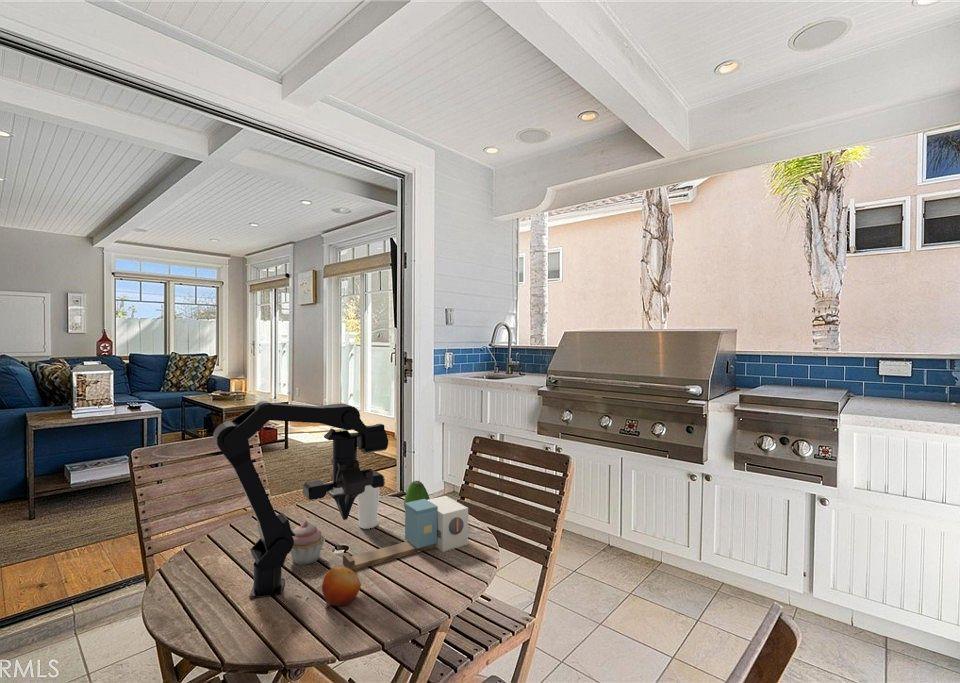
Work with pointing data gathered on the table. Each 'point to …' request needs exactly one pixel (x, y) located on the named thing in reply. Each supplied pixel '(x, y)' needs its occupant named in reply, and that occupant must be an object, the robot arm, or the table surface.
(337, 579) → the fruit
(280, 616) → the table surface
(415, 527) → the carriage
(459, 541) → the cabinet
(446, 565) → the table surface
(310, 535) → the cupcake
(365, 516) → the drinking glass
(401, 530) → the table surface
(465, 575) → the table surface
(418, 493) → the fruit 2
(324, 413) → the robot arm
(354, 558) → the rail
